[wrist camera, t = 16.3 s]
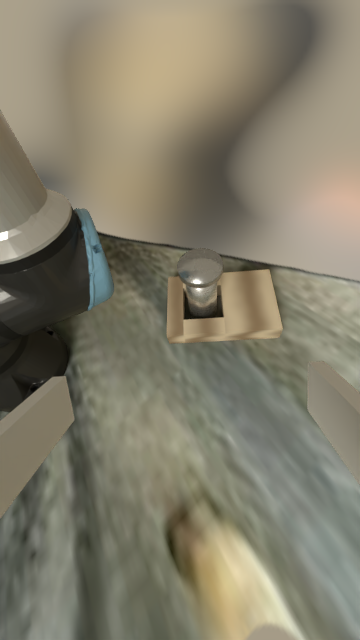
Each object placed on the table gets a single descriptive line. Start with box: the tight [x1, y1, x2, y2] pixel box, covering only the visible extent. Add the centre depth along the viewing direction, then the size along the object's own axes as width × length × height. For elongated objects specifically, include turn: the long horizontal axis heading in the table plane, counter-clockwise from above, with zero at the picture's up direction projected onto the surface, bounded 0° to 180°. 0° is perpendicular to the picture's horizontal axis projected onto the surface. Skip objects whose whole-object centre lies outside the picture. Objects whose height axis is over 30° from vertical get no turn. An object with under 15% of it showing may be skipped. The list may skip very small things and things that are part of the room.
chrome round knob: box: [177, 248, 223, 319], centre depth 43 cm, size 6×6×12 cm
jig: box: [167, 269, 283, 344], centre depth 47 cm, size 18×12×3 cm, turn 91°
